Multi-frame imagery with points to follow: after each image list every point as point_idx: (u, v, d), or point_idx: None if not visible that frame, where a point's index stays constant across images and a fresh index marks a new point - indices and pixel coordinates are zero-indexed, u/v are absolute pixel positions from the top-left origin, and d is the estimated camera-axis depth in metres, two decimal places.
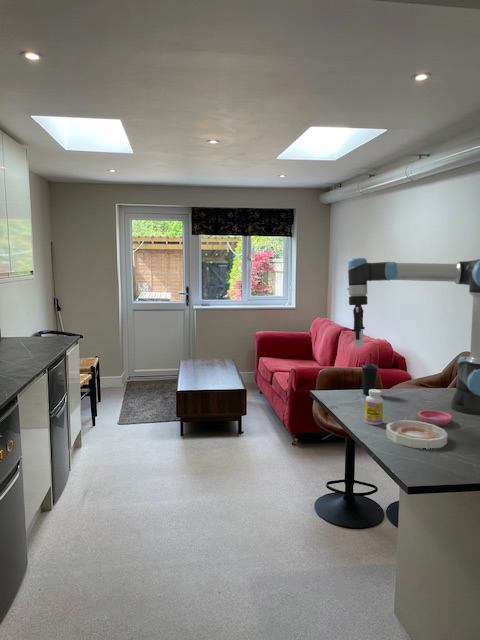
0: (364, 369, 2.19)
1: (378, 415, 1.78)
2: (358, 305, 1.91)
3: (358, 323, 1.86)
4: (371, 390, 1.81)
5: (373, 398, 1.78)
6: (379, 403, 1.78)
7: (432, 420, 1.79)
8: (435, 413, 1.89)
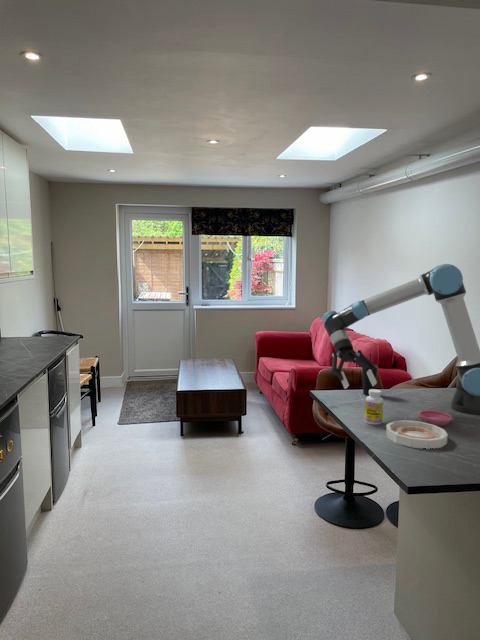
0: None
1: (378, 415, 1.78)
2: (338, 350, 1.95)
3: (333, 365, 1.89)
4: (371, 390, 1.81)
5: (373, 398, 1.78)
6: (379, 403, 1.78)
7: (432, 420, 1.79)
8: (435, 413, 1.89)
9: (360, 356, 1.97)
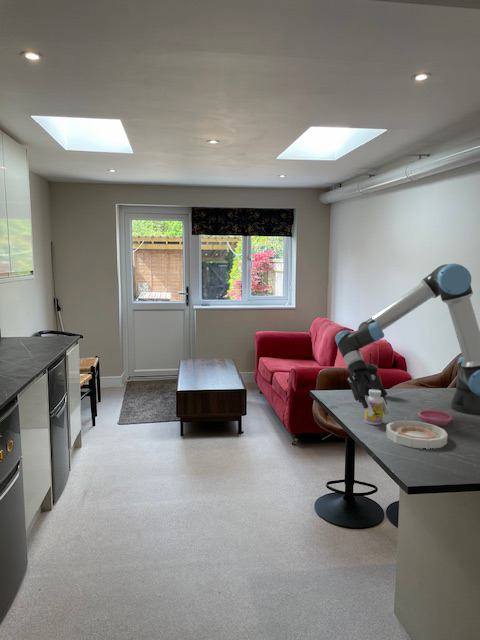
0: None
1: (378, 415, 1.78)
2: (352, 372, 1.87)
3: (355, 392, 1.81)
4: (371, 390, 1.81)
5: (373, 398, 1.78)
6: (379, 403, 1.78)
7: (432, 420, 1.79)
8: (435, 413, 1.89)
9: (375, 380, 1.88)
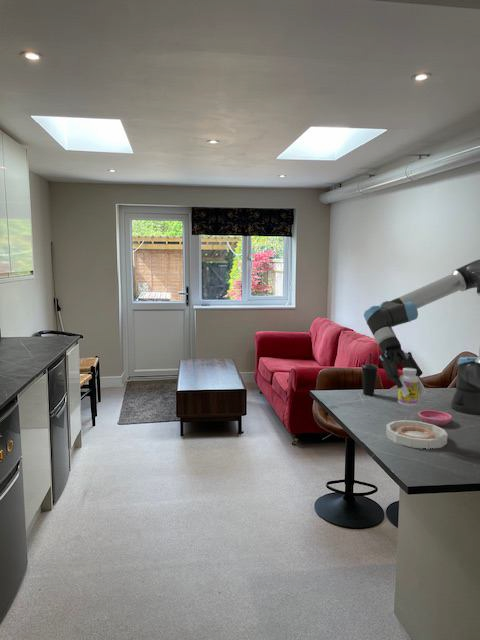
0: (364, 369, 2.19)
1: (413, 395, 1.64)
2: (384, 350, 1.73)
3: (388, 371, 1.67)
4: (405, 368, 1.67)
5: (408, 377, 1.64)
6: (414, 382, 1.63)
7: (432, 420, 1.79)
8: (435, 413, 1.89)
9: (409, 358, 1.73)
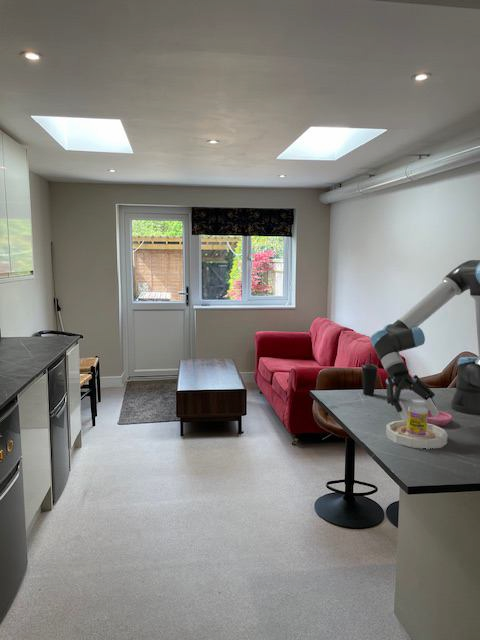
0: (364, 369, 2.19)
1: (422, 427, 1.62)
2: (392, 376, 1.71)
3: (389, 394, 1.65)
4: (415, 399, 1.65)
5: (417, 408, 1.63)
6: (423, 414, 1.62)
7: (432, 420, 1.79)
8: None
9: (417, 382, 1.73)
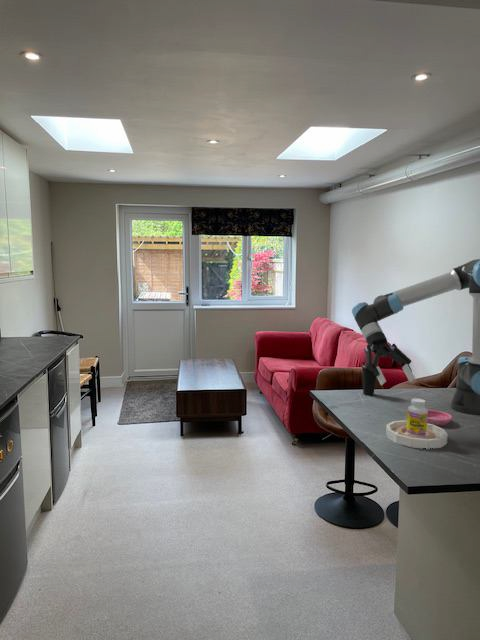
0: (364, 369, 2.19)
1: (422, 427, 1.63)
2: (371, 344, 1.82)
3: (367, 360, 1.76)
4: (414, 399, 1.65)
5: (417, 408, 1.63)
6: (423, 414, 1.62)
7: (432, 420, 1.79)
8: (435, 413, 1.89)
9: (395, 350, 1.83)
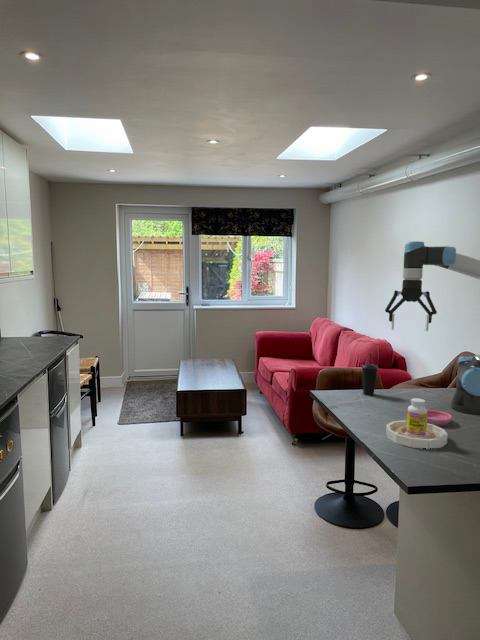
0: (364, 369, 2.19)
1: (422, 426, 1.63)
2: (402, 289, 1.93)
3: (388, 305, 1.95)
4: (414, 399, 1.65)
5: (417, 408, 1.63)
6: (423, 414, 1.62)
7: (432, 420, 1.79)
8: (435, 413, 1.89)
9: (426, 298, 1.91)
